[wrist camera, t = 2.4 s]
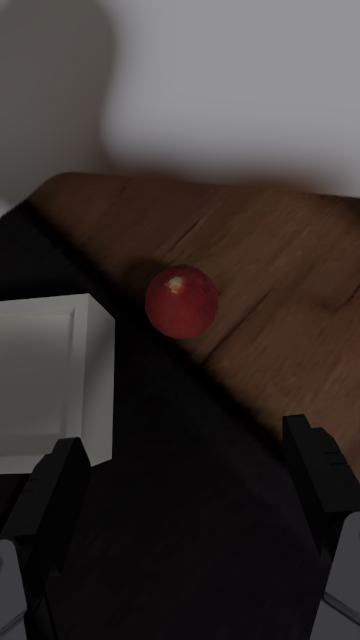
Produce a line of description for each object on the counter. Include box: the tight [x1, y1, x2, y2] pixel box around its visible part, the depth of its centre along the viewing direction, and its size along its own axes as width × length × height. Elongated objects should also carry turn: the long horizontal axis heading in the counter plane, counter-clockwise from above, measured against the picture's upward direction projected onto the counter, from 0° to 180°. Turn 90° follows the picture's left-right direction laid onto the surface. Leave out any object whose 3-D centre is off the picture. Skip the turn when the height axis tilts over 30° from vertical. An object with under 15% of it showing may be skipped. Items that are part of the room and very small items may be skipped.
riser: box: [0, 294, 115, 474], centre depth 24 cm, size 12×12×6 cm
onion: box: [145, 264, 218, 339], centre depth 24 cm, size 6×6×8 cm
